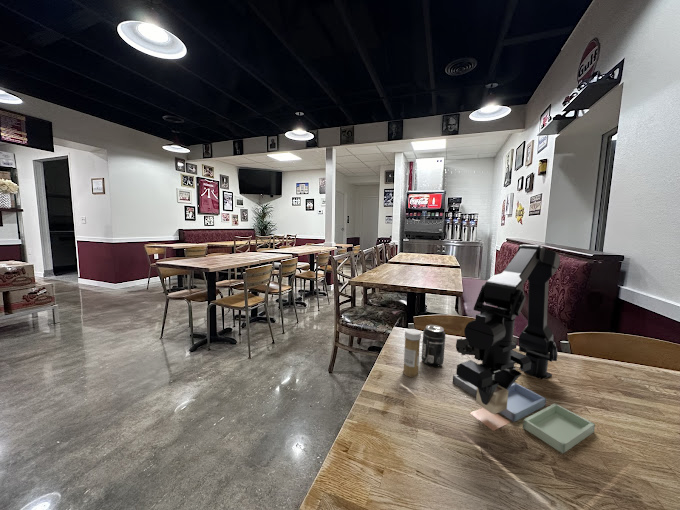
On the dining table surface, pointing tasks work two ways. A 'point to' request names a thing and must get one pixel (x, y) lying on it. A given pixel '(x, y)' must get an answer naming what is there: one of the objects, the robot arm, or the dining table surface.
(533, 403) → the slate tray
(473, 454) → the dining table surface
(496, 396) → the letter cube
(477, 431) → the dining table surface
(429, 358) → the beverage can
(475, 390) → the charcoal tray
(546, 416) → the green tray
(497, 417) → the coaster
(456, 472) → the dining table surface
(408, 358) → the sprinkles bottle
